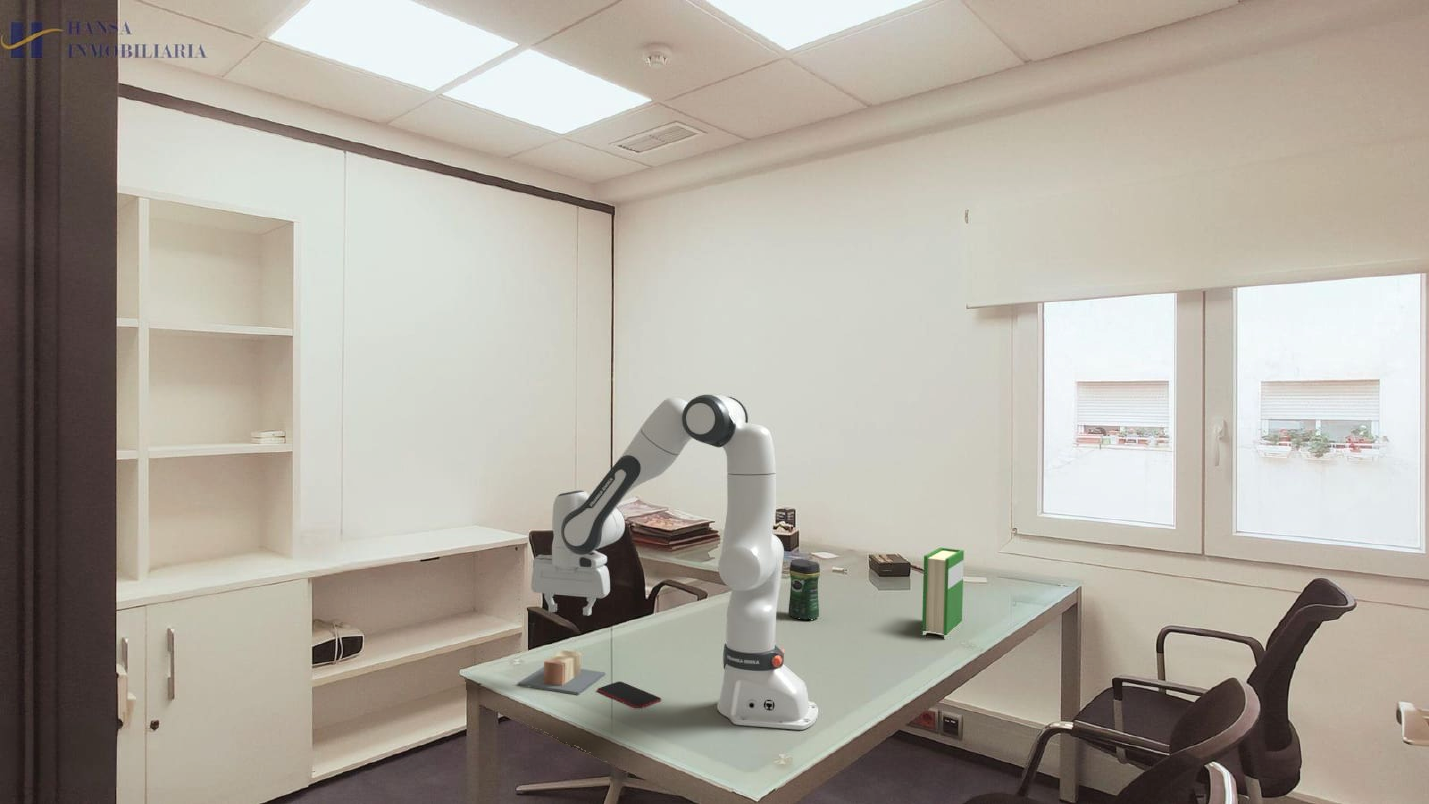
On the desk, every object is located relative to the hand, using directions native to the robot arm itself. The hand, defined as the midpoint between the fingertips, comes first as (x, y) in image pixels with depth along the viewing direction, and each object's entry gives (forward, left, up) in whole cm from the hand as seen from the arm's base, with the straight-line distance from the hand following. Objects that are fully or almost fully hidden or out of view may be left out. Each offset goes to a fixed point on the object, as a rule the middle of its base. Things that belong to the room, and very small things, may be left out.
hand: (569, 613), depth 185 cm
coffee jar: (-44, -76, -16) cm, 89 cm away
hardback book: (-87, -79, -16) cm, 118 cm away
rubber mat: (0, +2, -16) cm, 16 cm away
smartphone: (-19, +5, -16) cm, 25 cm away
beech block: (0, -2, -13) cm, 13 cm away
